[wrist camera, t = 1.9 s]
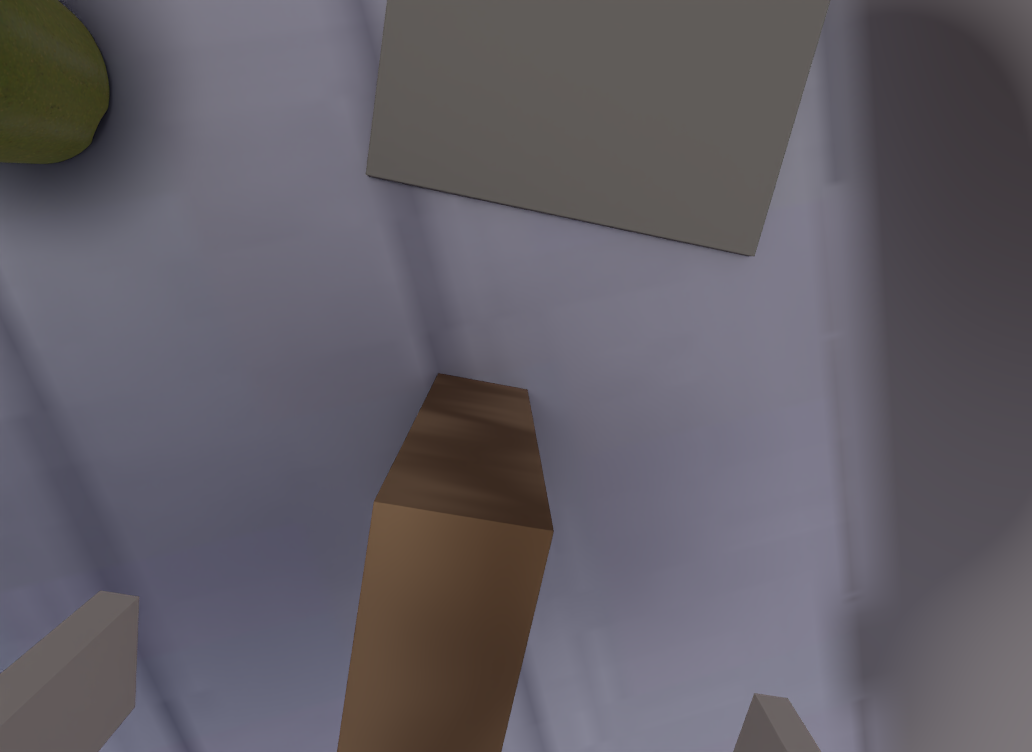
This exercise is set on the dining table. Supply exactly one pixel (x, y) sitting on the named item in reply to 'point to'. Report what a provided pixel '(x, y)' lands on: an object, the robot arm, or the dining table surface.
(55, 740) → the robot arm
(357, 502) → the dining table surface
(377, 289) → the dining table surface
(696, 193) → the rubber mat
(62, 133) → the plant pot
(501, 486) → the walnut block
